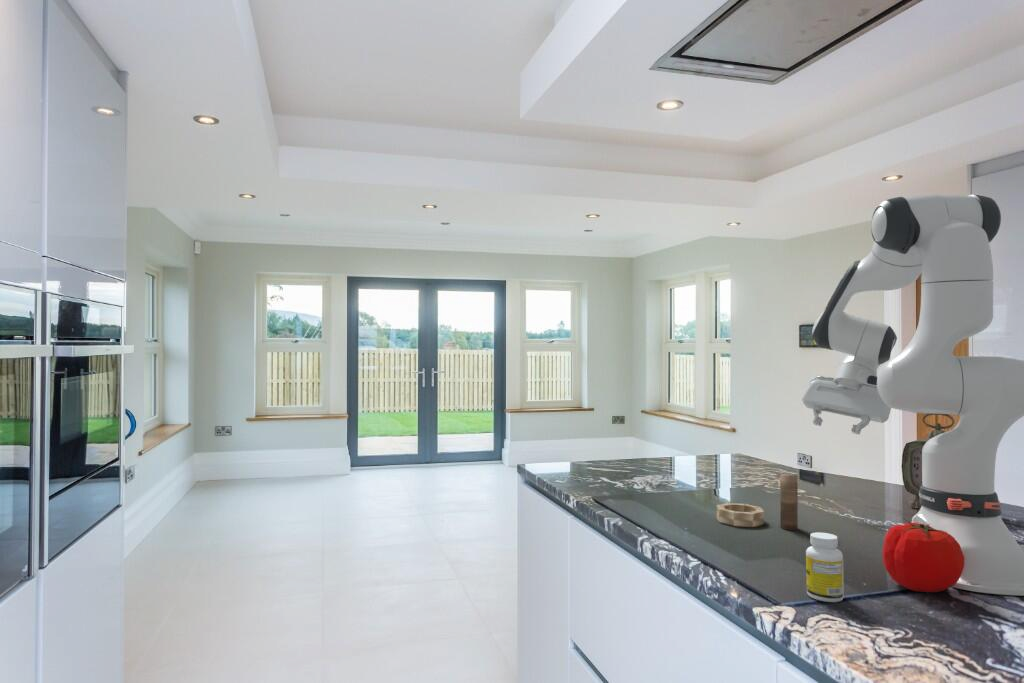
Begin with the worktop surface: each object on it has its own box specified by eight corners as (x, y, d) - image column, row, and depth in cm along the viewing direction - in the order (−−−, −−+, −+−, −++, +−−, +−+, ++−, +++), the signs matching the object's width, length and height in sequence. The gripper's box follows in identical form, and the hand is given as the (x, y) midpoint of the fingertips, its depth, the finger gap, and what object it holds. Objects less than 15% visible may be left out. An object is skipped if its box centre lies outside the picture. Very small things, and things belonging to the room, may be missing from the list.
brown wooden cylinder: (799, 530, 141) (799, 476, 141) (782, 529, 141) (782, 475, 142) (795, 526, 144) (795, 473, 145) (778, 525, 145) (778, 473, 145)
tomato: (882, 572, 113) (882, 510, 113) (961, 585, 107) (960, 519, 107) (882, 594, 103) (881, 525, 103) (968, 608, 97) (968, 536, 97)
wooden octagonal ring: (766, 527, 143) (766, 514, 143) (720, 525, 145) (720, 512, 145) (758, 516, 153) (758, 504, 153) (715, 514, 155) (715, 502, 155)
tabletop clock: (901, 507, 163) (900, 411, 164) (912, 502, 169) (911, 409, 170) (969, 518, 153) (968, 415, 153) (978, 512, 159) (977, 413, 159)
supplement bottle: (811, 588, 105) (810, 529, 106) (847, 596, 102) (846, 535, 102) (802, 597, 101) (801, 536, 101) (839, 606, 98) (838, 542, 98)
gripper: (809, 369, 168) (790, 414, 164) (893, 382, 152) (875, 432, 149) (816, 380, 172) (799, 425, 168) (899, 394, 156) (882, 443, 153)
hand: (835, 428), depth 158 cm, fingers open, 8 cm apart
